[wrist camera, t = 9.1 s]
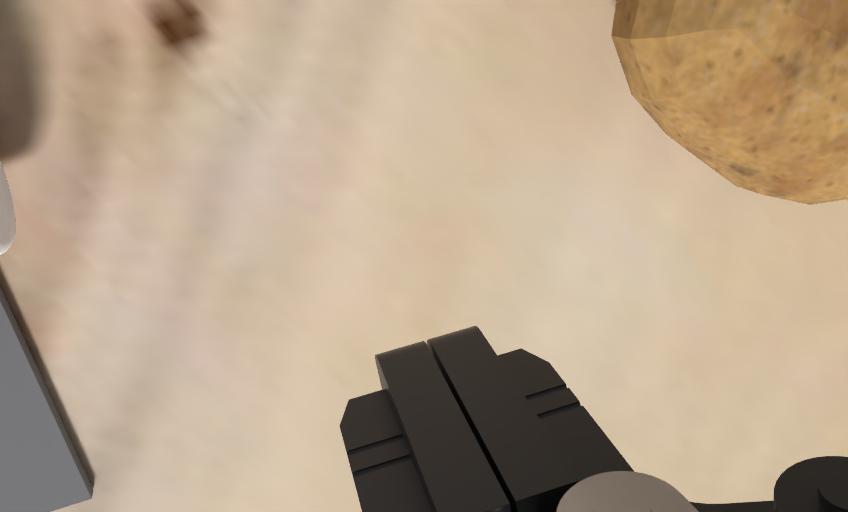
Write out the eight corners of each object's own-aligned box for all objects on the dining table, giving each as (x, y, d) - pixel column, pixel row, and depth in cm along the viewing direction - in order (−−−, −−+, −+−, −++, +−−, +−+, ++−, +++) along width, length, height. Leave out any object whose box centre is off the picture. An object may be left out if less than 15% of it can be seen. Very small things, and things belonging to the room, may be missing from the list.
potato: (820, 210, 31) (1010, 290, 23) (503, 97, 26) (620, 154, 18) (948, -43, 28) (1206, -41, 21) (623, -221, 23) (813, -298, 16)
